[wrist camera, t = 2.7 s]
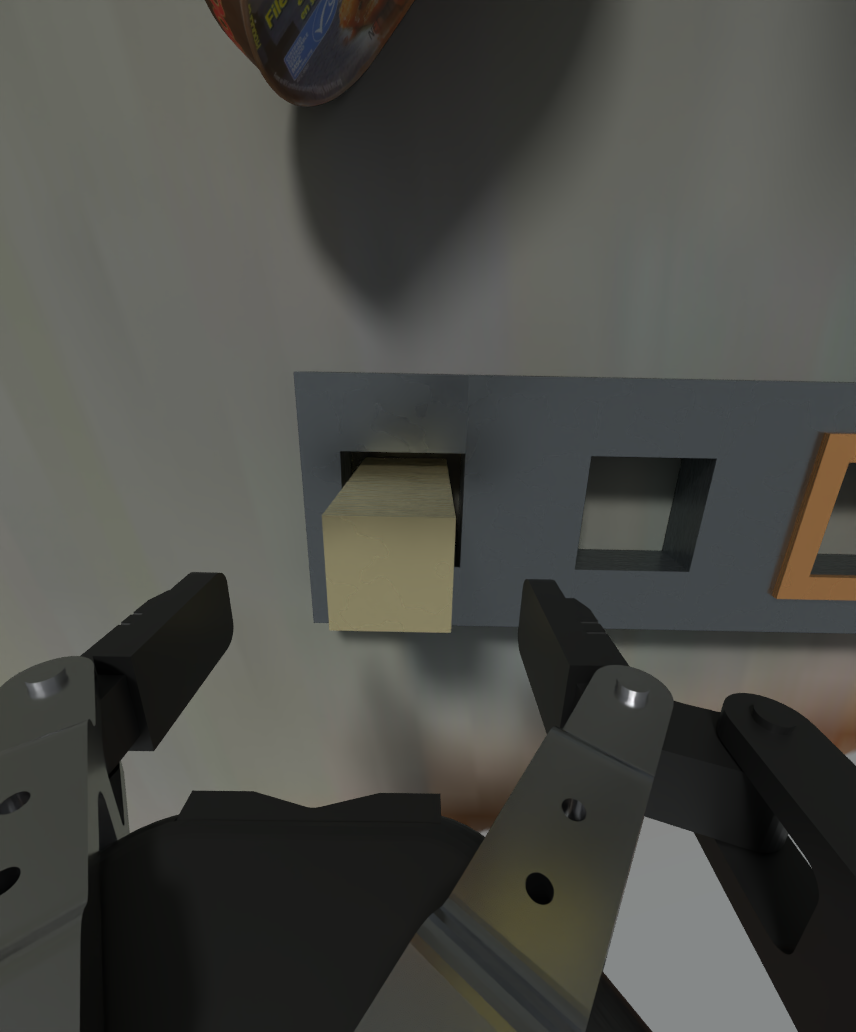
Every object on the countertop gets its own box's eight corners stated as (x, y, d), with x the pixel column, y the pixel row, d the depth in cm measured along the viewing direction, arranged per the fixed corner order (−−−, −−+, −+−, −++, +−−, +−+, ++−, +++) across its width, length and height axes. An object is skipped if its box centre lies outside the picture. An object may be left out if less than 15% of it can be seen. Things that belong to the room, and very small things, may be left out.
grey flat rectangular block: (971, 384, 20) (1055, 387, 17) (877, 608, 24) (934, 638, 21) (309, 371, 20) (291, 371, 17) (325, 597, 24) (312, 626, 21)
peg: (445, 458, 21) (455, 518, 13) (443, 533, 22) (451, 633, 14) (366, 457, 21) (321, 515, 13) (368, 531, 22) (329, 630, 14)
